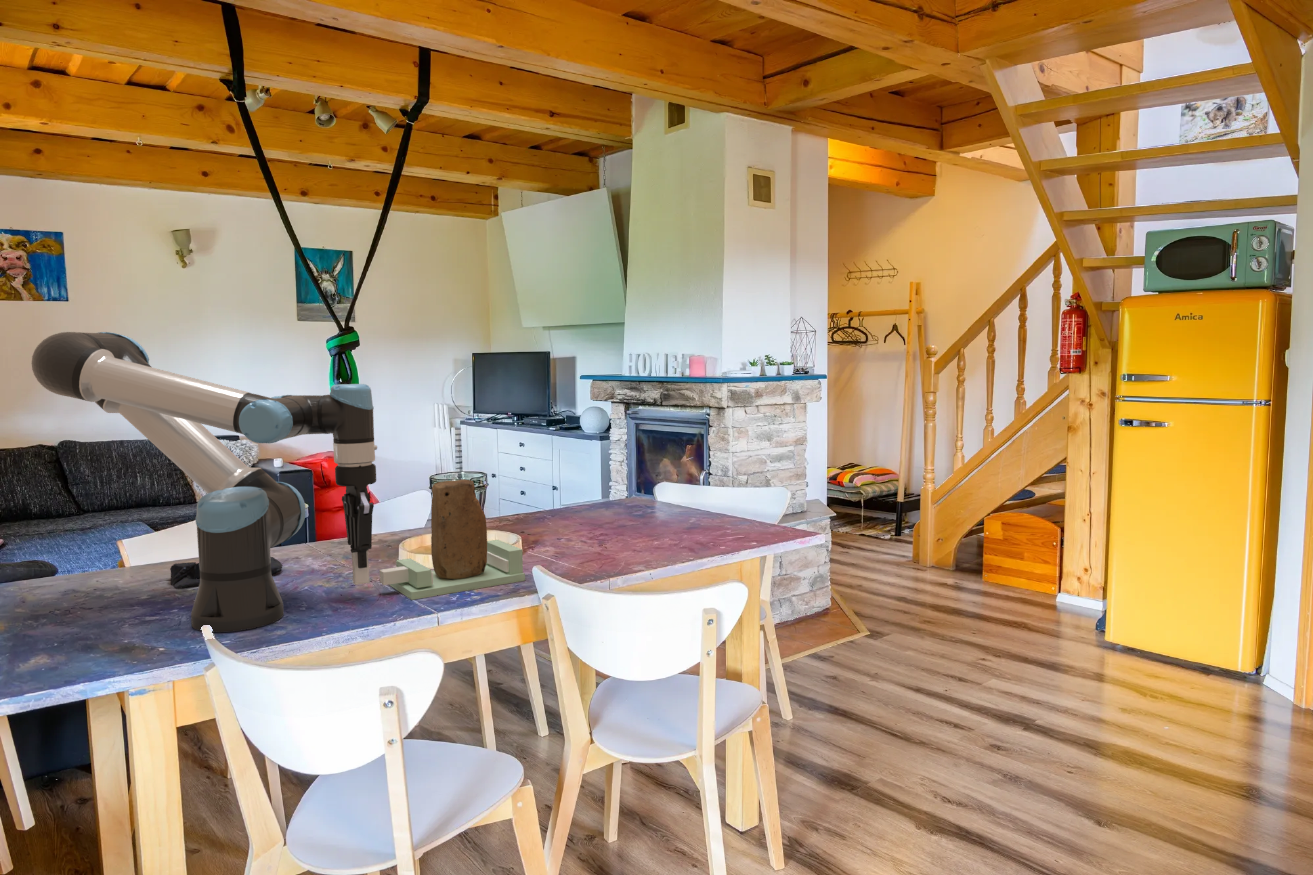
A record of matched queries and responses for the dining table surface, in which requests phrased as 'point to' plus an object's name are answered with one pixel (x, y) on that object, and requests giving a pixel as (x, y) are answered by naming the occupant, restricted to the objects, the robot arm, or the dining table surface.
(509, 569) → the vise
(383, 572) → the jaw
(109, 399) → the robot arm
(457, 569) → the block
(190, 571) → the dark slate chunk
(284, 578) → the dining table surface
